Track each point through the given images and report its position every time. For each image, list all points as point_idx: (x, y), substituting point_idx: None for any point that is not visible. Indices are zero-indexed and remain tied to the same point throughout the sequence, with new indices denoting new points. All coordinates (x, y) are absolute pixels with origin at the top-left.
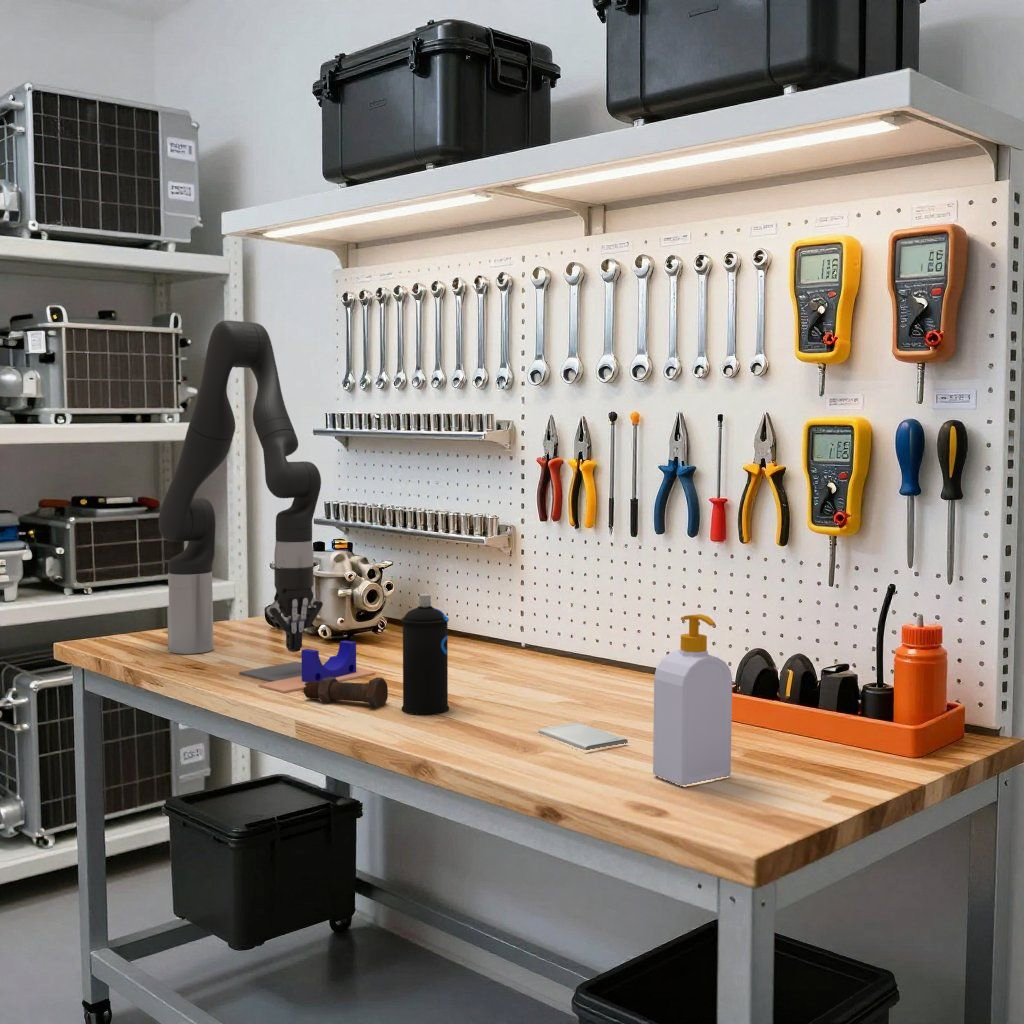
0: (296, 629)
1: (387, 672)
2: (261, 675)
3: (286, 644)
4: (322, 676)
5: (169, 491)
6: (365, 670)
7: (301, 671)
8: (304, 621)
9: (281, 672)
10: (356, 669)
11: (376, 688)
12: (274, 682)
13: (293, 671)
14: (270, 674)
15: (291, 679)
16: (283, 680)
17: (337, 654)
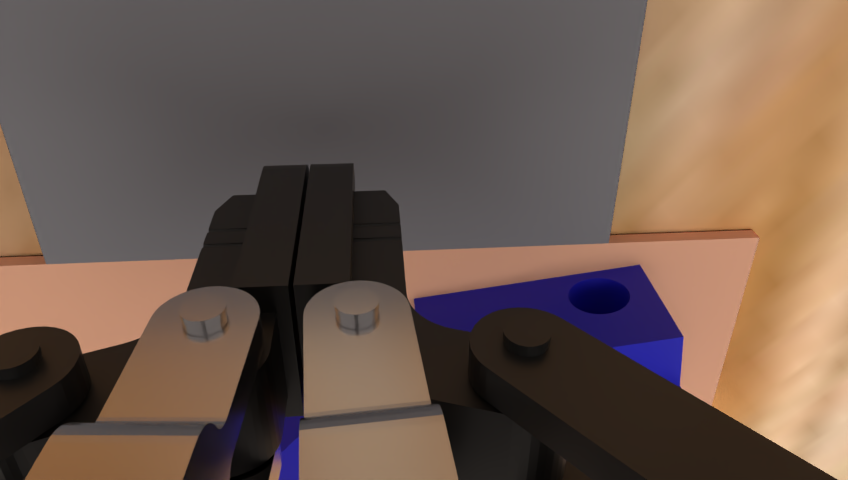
0: (275, 470)
1: (778, 443)
2: (17, 9)
3: (213, 226)
4: None
5: None
6: (712, 387)
7: (397, 125)
8: (512, 468)
9: (239, 34)
10: (706, 334)
11: None
12: (17, 294)
13: (347, 76)
14: (113, 31)
15: (172, 297)
16: (105, 286)
17: None
